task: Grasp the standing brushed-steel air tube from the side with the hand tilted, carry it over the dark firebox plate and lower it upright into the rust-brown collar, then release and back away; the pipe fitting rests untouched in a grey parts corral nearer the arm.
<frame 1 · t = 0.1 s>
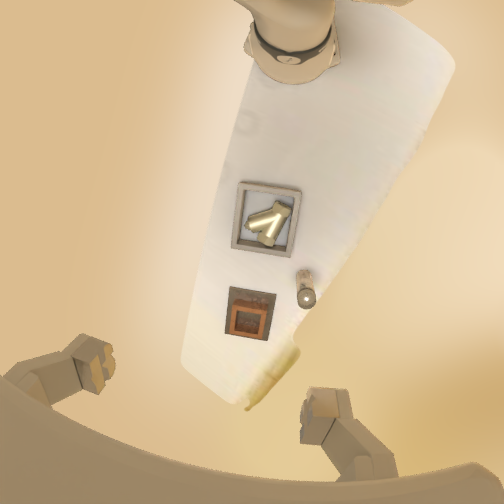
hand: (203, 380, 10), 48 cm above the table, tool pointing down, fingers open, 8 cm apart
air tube: (303, 276, 60), on the table
parts corral: (266, 217, 57), on the table
pipe fitting: (267, 217, 57), on the table
collar: (249, 314, 64), on the table
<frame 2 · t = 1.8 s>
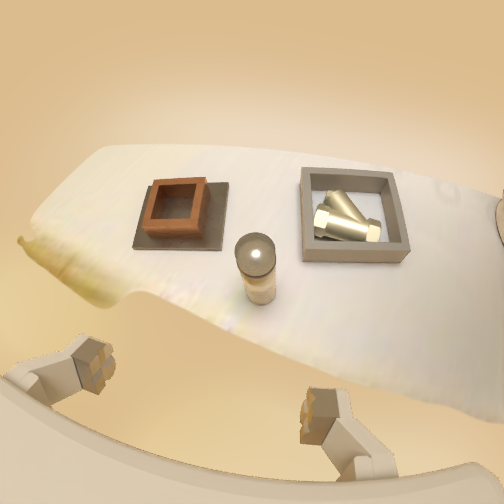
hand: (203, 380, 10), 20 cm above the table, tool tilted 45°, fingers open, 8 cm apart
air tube: (261, 291, 33), on the table
parts corral: (349, 220, 36), on the table
pipe fitting: (344, 225, 36), on the table
collar: (181, 215, 38), on the table
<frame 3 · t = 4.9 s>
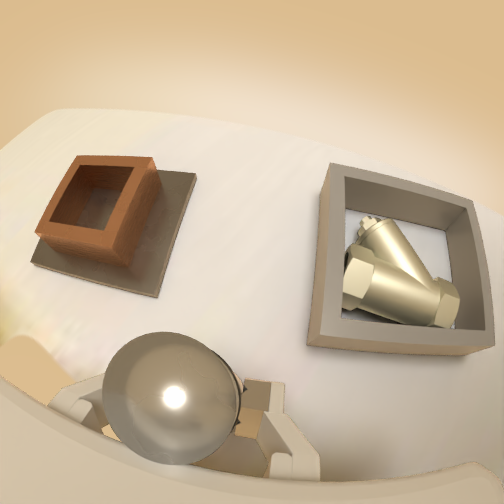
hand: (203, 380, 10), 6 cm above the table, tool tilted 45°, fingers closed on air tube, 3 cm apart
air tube: (216, 392, 15), on the table, touching gripper
parts corral: (398, 273, 19), on the table
pipe fitting: (387, 282, 19), on the table
collar: (108, 221, 21), on the table
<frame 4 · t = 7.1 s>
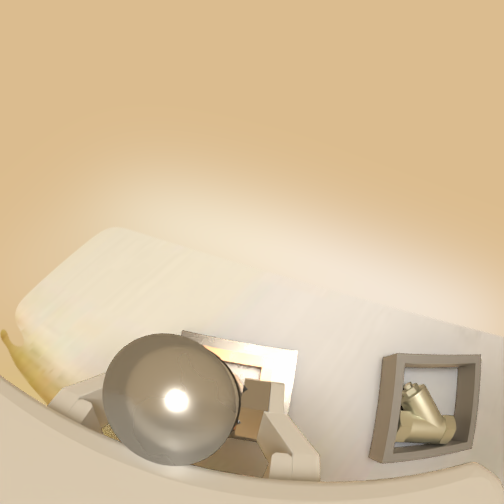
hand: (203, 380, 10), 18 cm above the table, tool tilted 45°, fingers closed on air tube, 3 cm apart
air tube: (217, 393, 15), point 13 cm above the table, touching gripper
parts corral: (423, 406, 25), on the table
pipe fitting: (415, 414, 25), on the table
collar: (230, 389, 27), on the table
when the fingers open (8 cm above the table, at t = 9.3 s): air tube drops 1 cm, resting on collar.
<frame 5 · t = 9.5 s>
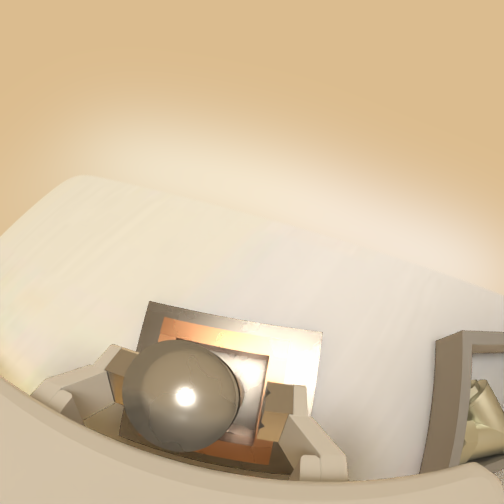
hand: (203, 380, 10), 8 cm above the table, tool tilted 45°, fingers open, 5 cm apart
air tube: (219, 392, 17), point 1 cm above the table, touching collar
parts corral: (483, 405, 15), on the table
pipe fitting: (470, 419, 15), on the table
collar: (219, 391, 17), on the table
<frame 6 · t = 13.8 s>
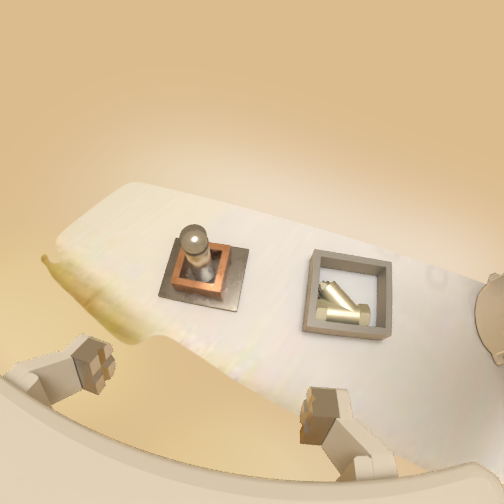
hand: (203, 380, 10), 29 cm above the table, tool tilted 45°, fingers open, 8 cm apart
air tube: (203, 272, 43), point 1 cm above the table, touching collar
parts corral: (346, 299, 42), on the table
pipe fitting: (337, 308, 42), on the table
collar: (204, 273, 44), on the table
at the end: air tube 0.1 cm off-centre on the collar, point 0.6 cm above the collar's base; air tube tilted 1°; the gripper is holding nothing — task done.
